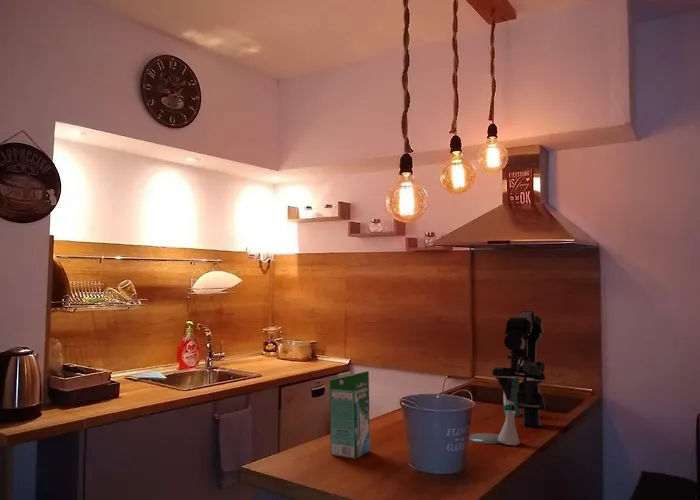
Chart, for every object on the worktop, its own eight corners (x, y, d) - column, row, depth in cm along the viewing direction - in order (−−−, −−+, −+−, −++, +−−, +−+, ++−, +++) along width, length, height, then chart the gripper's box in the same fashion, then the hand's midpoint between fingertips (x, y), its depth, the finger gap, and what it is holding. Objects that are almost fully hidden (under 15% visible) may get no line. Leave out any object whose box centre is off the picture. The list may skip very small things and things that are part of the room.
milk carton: (345, 447, 177) (344, 368, 179) (370, 451, 172) (368, 370, 174) (330, 454, 169) (329, 372, 171) (355, 459, 164) (354, 374, 166)
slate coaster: (466, 434, 190) (466, 433, 190) (501, 434, 190) (501, 433, 190) (472, 444, 178) (471, 442, 178) (509, 444, 178) (509, 442, 178)
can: (501, 413, 222) (500, 376, 223) (515, 413, 223) (514, 375, 225) (508, 417, 216) (507, 378, 218) (523, 416, 217) (521, 377, 219)
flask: (494, 442, 178) (496, 411, 177) (500, 436, 184) (502, 406, 184) (517, 447, 174) (519, 416, 174) (522, 441, 180) (524, 411, 180)
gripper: (515, 349, 178) (515, 399, 174) (557, 355, 186) (557, 403, 182) (491, 350, 187) (491, 398, 183) (532, 356, 195) (532, 401, 191)
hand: (519, 400), depth 185 cm, fingers open, 9 cm apart
